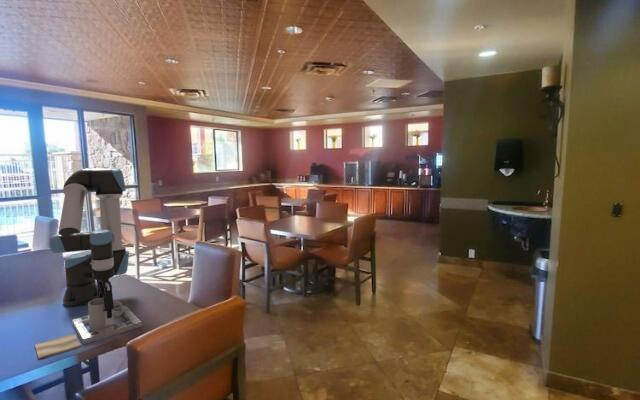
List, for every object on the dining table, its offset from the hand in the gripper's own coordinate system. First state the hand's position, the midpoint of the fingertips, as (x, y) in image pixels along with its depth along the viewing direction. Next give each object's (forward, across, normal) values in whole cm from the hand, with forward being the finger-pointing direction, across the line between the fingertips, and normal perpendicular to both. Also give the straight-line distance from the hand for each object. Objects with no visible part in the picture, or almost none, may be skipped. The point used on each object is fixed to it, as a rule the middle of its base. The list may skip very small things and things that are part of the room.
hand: (106, 321), depth 140 cm
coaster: (+2, +6, -17) cm, 18 cm away
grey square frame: (+2, 0, 0) cm, 2 cm away
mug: (+2, 0, 0) cm, 2 cm away
